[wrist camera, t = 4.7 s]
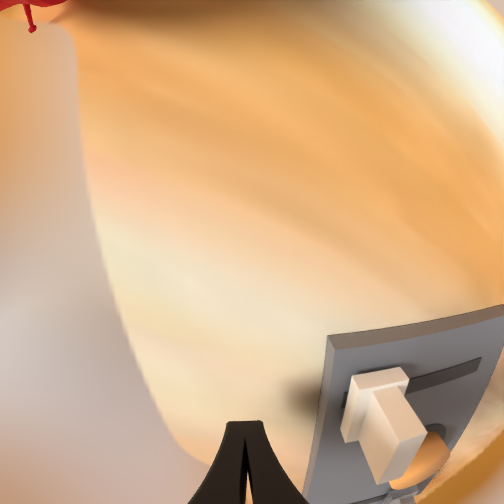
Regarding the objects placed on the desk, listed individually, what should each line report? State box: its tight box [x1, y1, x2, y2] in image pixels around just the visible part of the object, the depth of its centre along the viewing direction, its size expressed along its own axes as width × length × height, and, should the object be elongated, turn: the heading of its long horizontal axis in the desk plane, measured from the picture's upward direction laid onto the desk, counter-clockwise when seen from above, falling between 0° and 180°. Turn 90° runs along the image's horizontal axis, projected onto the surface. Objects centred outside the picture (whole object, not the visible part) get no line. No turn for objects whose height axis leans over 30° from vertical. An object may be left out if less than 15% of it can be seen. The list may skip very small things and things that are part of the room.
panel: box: [302, 305, 504, 504], centre depth 15 cm, size 12×20×1 cm, turn 2°
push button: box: [389, 431, 450, 490], centre depth 13 cm, size 4×4×2 cm
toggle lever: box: [340, 367, 428, 485], centre depth 10 cm, size 2×4×4 cm, turn 2°
